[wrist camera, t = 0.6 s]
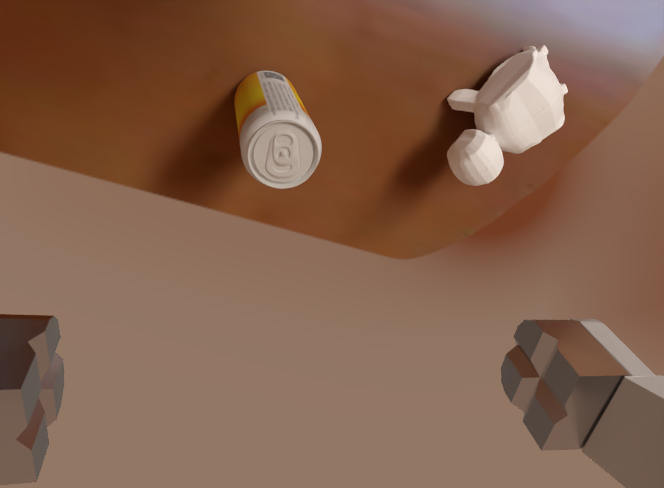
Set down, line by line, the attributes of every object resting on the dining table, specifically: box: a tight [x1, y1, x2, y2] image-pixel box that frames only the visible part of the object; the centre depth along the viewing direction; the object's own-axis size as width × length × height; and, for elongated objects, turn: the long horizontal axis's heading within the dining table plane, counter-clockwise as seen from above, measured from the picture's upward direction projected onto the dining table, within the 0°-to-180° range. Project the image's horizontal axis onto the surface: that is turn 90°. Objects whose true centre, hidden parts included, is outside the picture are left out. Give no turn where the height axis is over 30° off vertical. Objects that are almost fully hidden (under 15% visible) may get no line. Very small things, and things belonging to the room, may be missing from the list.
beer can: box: [234, 71, 322, 189], centre depth 45 cm, size 6×6×15 cm
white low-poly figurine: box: [447, 45, 568, 186], centre depth 53 cm, size 9×8×15 cm
